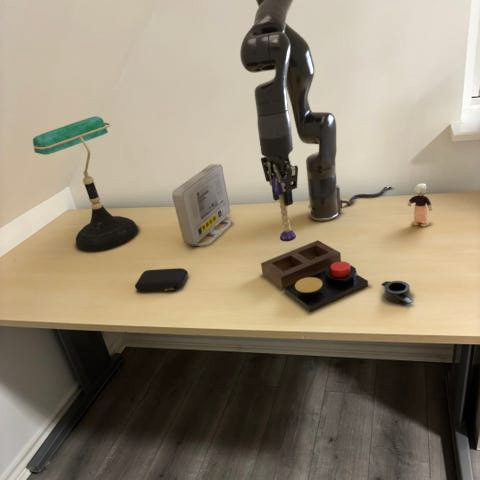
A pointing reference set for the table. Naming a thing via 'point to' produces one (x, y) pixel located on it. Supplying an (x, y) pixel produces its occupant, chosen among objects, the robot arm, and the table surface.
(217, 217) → the network device
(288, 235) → the toy lamp
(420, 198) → the grandmother figurine
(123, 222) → the banker's lamp
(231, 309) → the table surface
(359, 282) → the switch base
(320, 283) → the brass plate
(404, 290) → the black winged round part
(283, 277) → the rack
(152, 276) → the carrying case
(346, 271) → the switch button
